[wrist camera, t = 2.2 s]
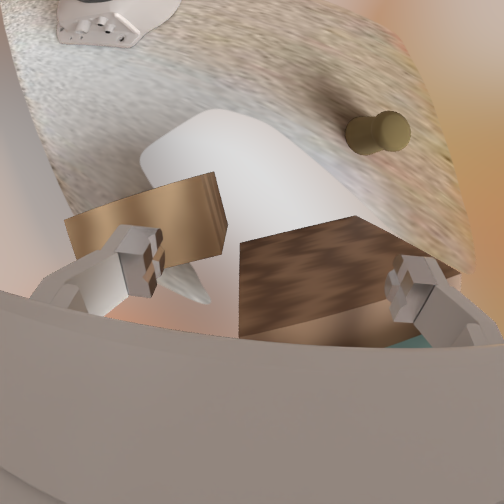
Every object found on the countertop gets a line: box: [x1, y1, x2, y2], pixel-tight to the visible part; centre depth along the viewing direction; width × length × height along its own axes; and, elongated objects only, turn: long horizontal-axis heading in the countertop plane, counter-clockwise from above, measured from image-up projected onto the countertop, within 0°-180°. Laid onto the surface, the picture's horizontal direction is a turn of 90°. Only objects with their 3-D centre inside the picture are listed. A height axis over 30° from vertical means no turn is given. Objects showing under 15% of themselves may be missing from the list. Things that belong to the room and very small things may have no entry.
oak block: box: [64, 172, 228, 268], centre depth 37 cm, size 16×8×15 cm, turn 104°
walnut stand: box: [239, 216, 461, 348], centre depth 35 cm, size 18×12×26 cm, turn 104°
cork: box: [345, 111, 411, 155], centre depth 37 cm, size 6×6×11 cm
